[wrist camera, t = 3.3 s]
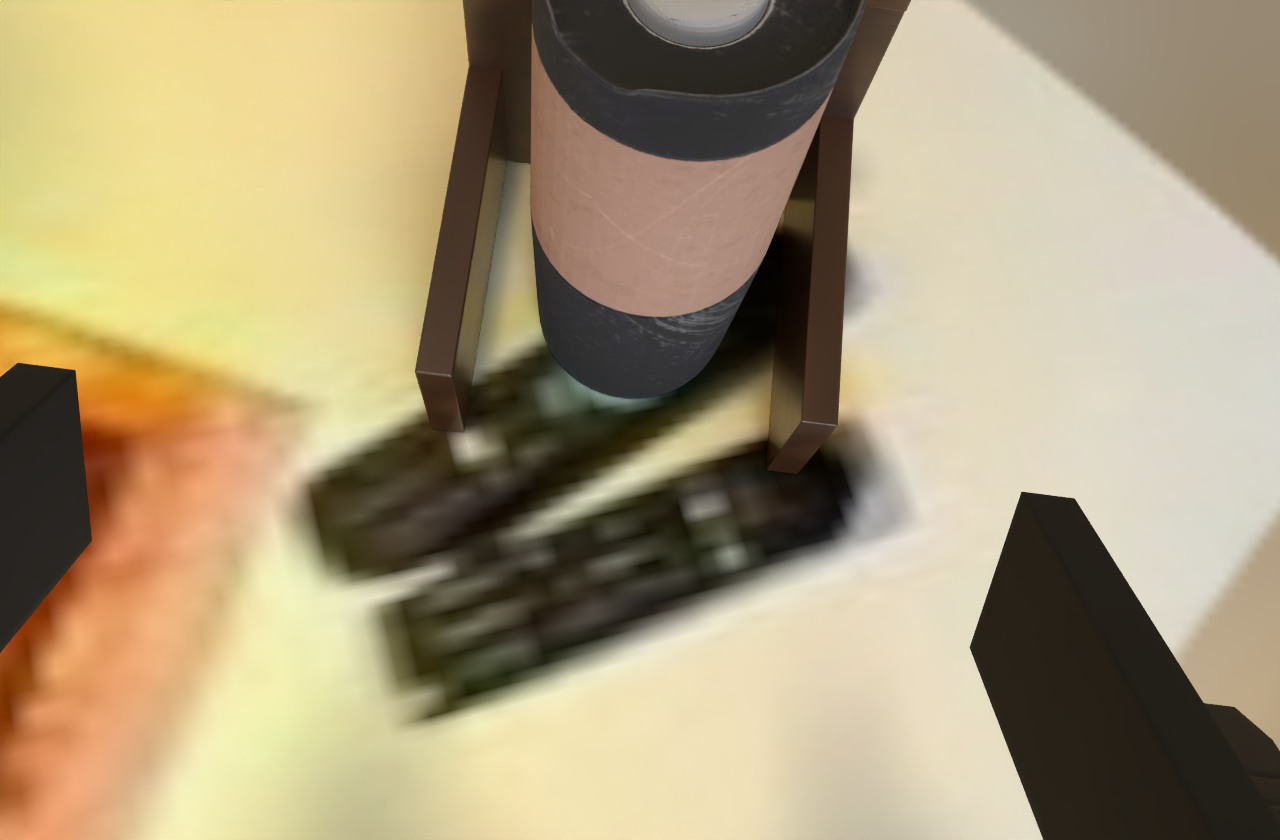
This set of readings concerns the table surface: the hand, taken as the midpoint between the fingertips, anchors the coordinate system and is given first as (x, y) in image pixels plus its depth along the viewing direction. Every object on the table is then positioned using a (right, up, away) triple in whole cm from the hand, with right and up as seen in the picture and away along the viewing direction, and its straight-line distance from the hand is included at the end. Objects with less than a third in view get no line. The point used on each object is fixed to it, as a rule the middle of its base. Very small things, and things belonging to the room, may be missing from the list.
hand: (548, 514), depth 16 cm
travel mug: (+1, +5, +28) cm, 28 cm away
